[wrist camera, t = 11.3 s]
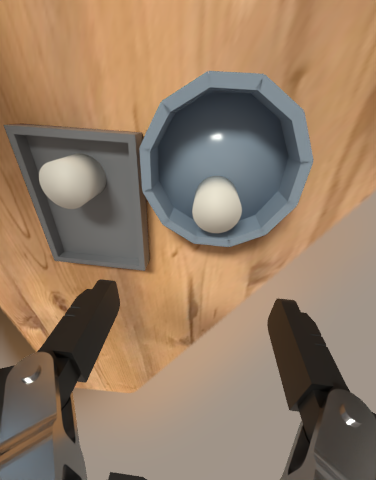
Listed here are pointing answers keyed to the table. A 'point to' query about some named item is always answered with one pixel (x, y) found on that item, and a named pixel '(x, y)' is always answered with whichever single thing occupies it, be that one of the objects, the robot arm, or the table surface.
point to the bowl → (226, 153)
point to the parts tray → (98, 208)
